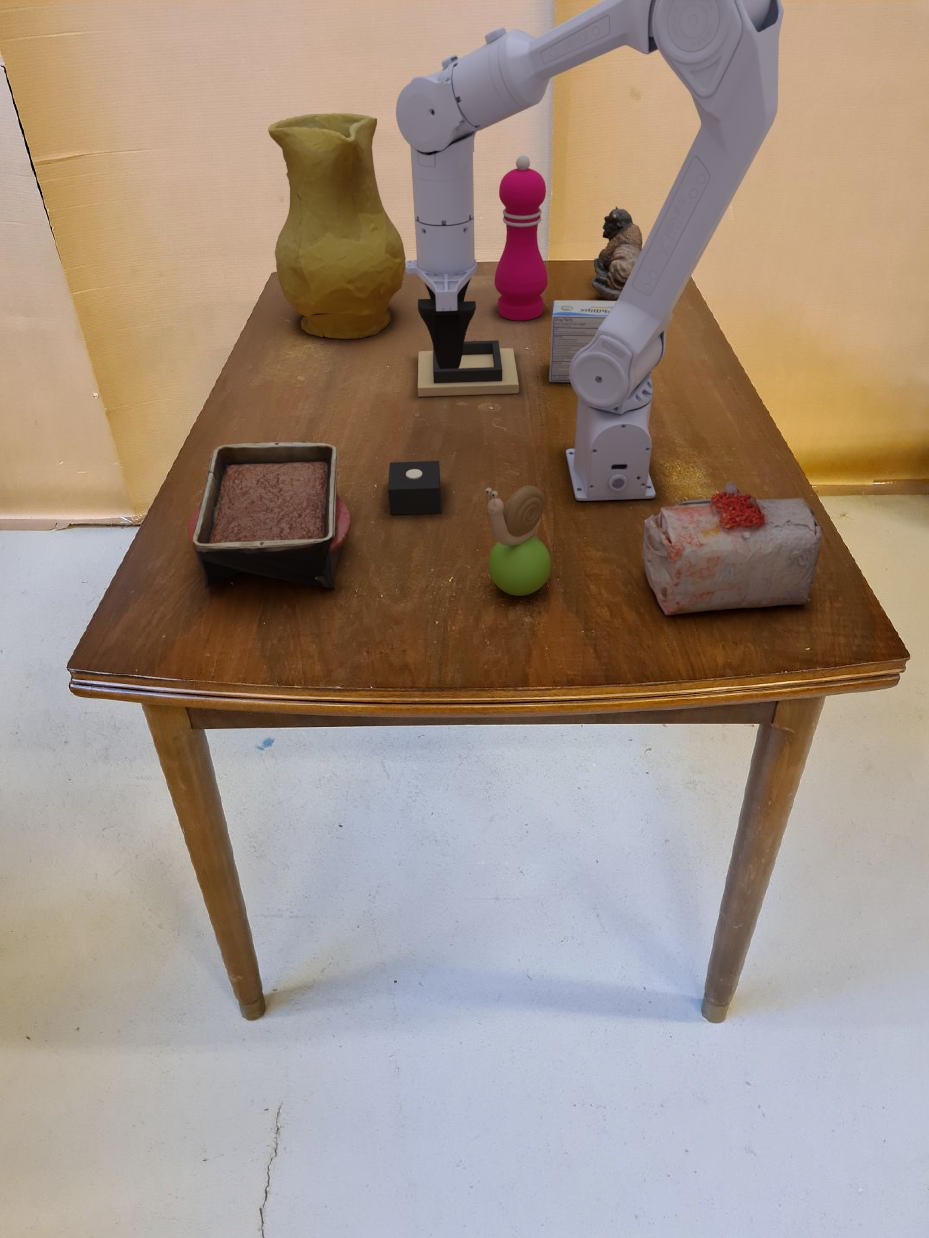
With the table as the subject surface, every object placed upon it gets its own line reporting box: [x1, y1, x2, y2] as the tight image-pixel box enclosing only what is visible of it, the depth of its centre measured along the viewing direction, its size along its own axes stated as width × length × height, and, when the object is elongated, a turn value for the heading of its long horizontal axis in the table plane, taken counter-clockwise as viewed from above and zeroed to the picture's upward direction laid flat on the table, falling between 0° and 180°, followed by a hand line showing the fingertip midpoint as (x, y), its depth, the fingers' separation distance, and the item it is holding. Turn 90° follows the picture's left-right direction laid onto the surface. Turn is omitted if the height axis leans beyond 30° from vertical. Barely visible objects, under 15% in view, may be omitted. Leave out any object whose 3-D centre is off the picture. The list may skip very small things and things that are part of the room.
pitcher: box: [267, 112, 407, 340], centre depth 118 cm, size 17×19×25 cm
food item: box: [641, 480, 824, 616], centre depth 76 cm, size 14×8×10 cm, turn 95°
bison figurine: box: [591, 205, 644, 301], centre depth 128 cm, size 12×7×10 cm, turn 177°
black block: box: [387, 460, 442, 516], centre depth 91 cm, size 5×5×3 cm
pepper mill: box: [494, 154, 549, 321], centre depth 120 cm, size 7×7×20 cm
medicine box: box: [548, 299, 617, 383], centre depth 108 cm, size 8×4×9 cm, turn 84°
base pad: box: [417, 339, 520, 398], centre depth 111 cm, size 10×12×3 cm
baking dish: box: [188, 441, 352, 590], centre depth 83 cm, size 14×18×10 cm
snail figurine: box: [485, 485, 552, 597], centre depth 76 cm, size 5×6×12 cm
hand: (449, 351), depth 96 cm, fingers open, 7 cm apart
